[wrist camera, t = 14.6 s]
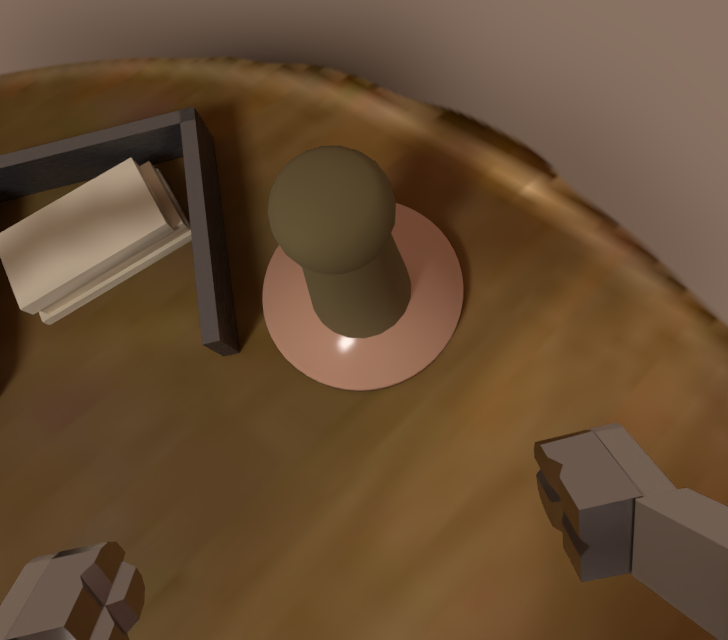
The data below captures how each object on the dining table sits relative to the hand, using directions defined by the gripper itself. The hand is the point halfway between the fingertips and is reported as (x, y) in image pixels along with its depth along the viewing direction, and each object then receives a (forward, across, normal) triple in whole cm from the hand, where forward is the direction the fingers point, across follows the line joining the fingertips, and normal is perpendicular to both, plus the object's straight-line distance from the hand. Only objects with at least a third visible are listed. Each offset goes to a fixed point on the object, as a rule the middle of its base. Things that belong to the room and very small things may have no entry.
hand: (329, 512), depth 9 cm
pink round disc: (+20, -1, +5) cm, 21 cm away
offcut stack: (+26, +15, 0) cm, 30 cm away
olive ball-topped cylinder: (+20, -1, +4) cm, 20 cm away
